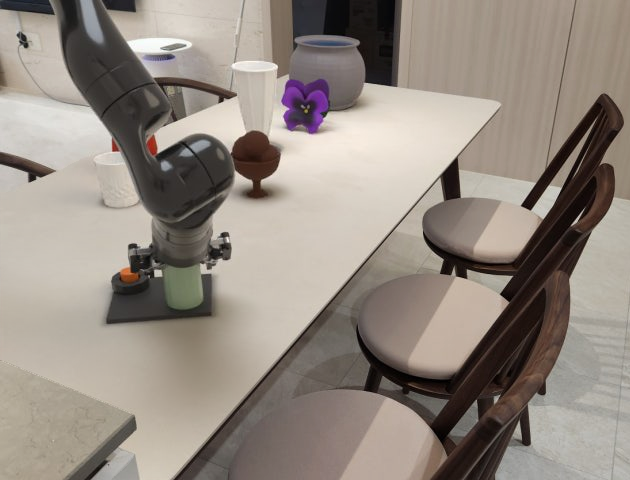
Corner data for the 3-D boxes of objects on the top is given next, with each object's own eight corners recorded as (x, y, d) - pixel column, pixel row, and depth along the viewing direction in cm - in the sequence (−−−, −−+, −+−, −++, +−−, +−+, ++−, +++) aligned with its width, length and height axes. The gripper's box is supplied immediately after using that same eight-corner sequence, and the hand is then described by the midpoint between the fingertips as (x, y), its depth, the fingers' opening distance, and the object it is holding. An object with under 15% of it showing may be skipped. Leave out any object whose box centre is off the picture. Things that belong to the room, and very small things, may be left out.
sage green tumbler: (165, 311, 96) (158, 264, 92) (167, 292, 100) (161, 247, 96) (203, 308, 97) (198, 262, 93) (204, 289, 101) (199, 245, 97)
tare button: (120, 283, 100) (119, 275, 99) (122, 275, 102) (121, 267, 101) (137, 282, 100) (136, 274, 99) (139, 274, 102) (138, 266, 102)
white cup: (111, 214, 128) (103, 167, 123) (95, 202, 133) (87, 156, 128) (148, 205, 133) (142, 159, 128) (132, 193, 137) (125, 149, 132)
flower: (291, 137, 194) (273, 126, 181) (300, 88, 193) (283, 74, 180) (336, 143, 190) (321, 133, 177) (345, 93, 189) (331, 79, 176)
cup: (267, 141, 173) (264, 59, 162) (288, 153, 165) (286, 67, 154) (228, 148, 166) (222, 62, 156) (248, 161, 159) (243, 72, 148)
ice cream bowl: (292, 195, 141) (291, 128, 133) (258, 210, 133) (254, 140, 125) (256, 183, 146) (253, 118, 138) (221, 198, 137) (215, 130, 130)
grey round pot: (310, 90, 224) (310, 31, 214) (375, 100, 216) (378, 39, 206) (274, 106, 204) (272, 41, 194) (345, 117, 196) (346, 50, 186)
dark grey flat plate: (105, 327, 94) (102, 310, 92) (116, 286, 104) (113, 270, 103) (211, 319, 97) (210, 302, 95) (212, 279, 107) (210, 264, 106)
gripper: (231, 198, 86) (222, 239, 100) (119, 210, 81) (126, 251, 96) (242, 250, 84) (230, 283, 99) (128, 266, 79) (134, 298, 94)
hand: (179, 267), depth 97 cm, fingers open, 8 cm apart
